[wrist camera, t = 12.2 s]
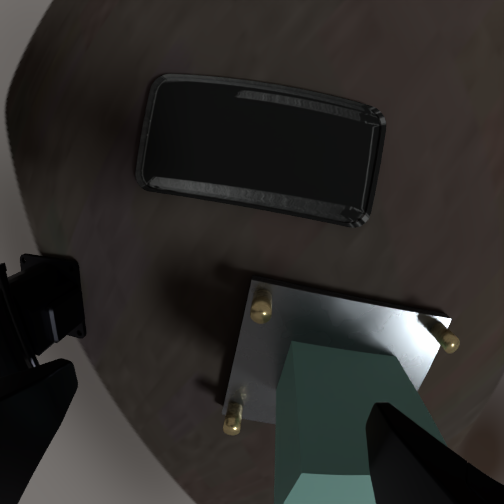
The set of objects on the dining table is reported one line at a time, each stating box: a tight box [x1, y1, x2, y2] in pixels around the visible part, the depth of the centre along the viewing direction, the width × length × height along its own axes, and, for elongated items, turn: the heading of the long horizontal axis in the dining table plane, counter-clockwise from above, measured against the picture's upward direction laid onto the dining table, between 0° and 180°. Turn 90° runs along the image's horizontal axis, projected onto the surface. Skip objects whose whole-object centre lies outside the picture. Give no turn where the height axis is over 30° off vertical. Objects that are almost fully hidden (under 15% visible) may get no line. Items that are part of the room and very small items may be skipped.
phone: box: [135, 74, 386, 227], centre depth 18 cm, size 8×1×15 cm
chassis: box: [222, 275, 460, 435], centre depth 20 cm, size 15×12×4 cm
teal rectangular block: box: [274, 341, 447, 504], centre depth 16 cm, size 8×4×11 cm, turn 78°
